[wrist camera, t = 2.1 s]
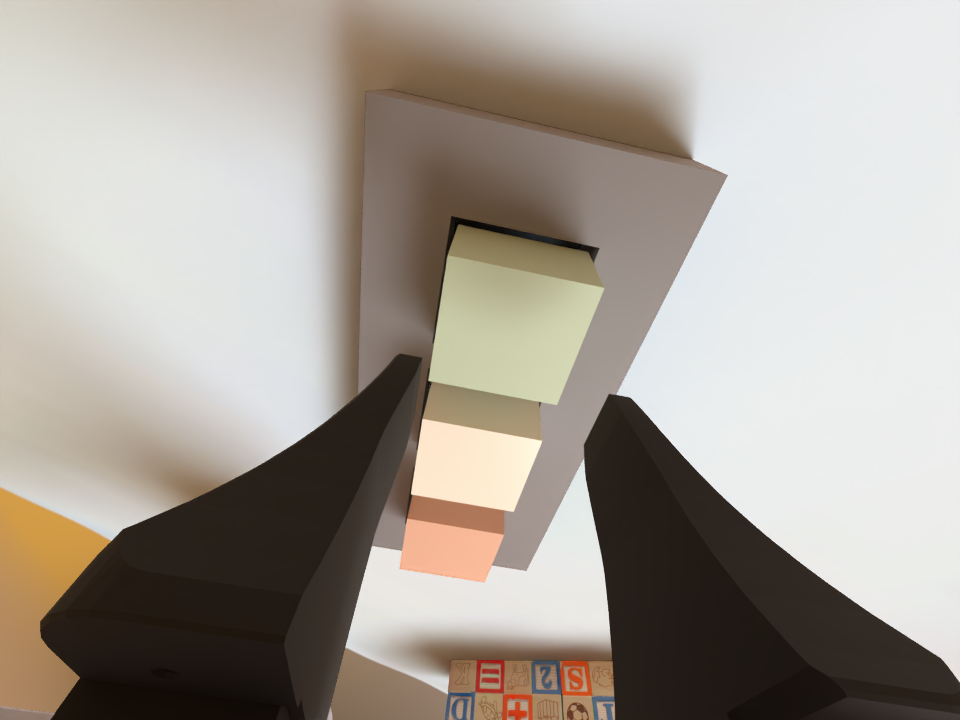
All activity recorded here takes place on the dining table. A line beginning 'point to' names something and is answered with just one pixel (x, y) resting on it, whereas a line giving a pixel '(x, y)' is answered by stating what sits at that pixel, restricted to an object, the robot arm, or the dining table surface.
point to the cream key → (476, 447)
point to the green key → (512, 314)
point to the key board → (529, 208)
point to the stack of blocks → (530, 690)
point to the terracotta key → (451, 538)
